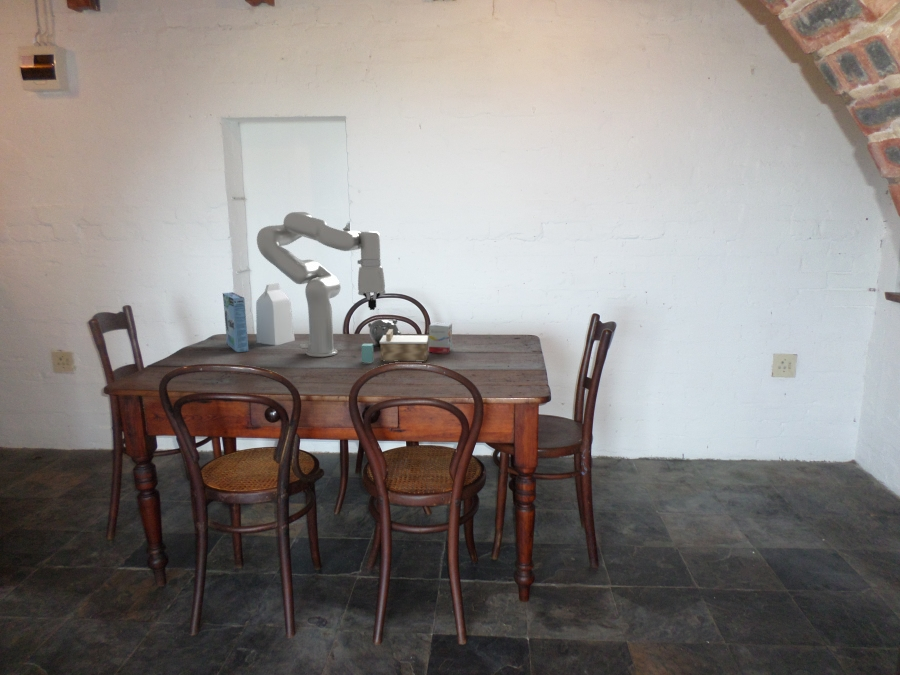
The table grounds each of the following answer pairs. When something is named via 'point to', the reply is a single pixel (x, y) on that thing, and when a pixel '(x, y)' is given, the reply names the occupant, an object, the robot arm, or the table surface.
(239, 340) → the blue cereal box
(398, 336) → the lid
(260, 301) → the milk
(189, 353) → the table surface
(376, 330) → the piggy bank
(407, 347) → the tan open box
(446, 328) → the ink box
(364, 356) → the block
